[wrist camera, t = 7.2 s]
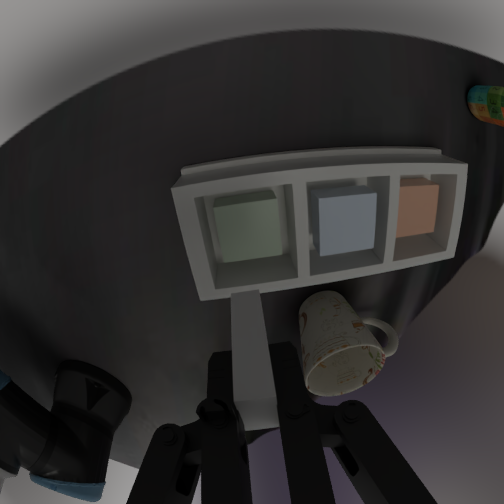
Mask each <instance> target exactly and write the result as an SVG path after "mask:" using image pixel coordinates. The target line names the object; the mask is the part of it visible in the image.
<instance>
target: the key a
mask: <svg viewBox="0 0 504 504" xmlns="http://www.w3.org/2000/svg"><path fill="white" fill-rule="evenodd" d="M213 210H214V216H215V221H216V226H217V231H218V236H219V241H220V246H221V251H222V256H223V260H224V263H228V262H235V261H242V260H249V259H256V258H263V257H270V256H277V255H282V245H281V234H280V224H279V213H278V203H277V198H276V196H275V194H274V191H273V190H272V191H264V192H257V193H250V194H243V195H236V196H229V197H223V198H217V199H215V201H214V206H213Z"/></svg>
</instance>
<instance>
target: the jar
mask: <svg viewBox="0 0 504 504" xmlns="http://www.w3.org/2000/svg"><path fill="white" fill-rule="evenodd" d="M467 102H468V106H469V109H470V111H471V112H472V114H473V115H474V116H475V117H476V118H478V119H479V120H481V121H485V122H489V123H493V124H497V125H500V126H504V87H498V86H482V85H477V86H474V87H472V88H471V89H470V90H469V92H468V95H467Z"/></svg>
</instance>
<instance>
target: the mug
mask: <svg viewBox="0 0 504 504" xmlns="http://www.w3.org/2000/svg"><path fill="white" fill-rule="evenodd" d="M365 324H371V325H374V326H377V327H379V328H380V329H382V330H383V331H384V332H385V333H386V334H387V335H388V338H389V342H388V345H387V346H386V347H384V348H382V347H381V345H380V344H379V343H378V341H377V340H376V339H375V337H374V336H373V335H372V333H371V332H370V331H369V329H368V328H367V327H366V325H365ZM299 325H300V335H301V346H302V358H303V370H304V380H305V385H306V387H307V389H308V390H309V391H310V392H312V393H314V394H316V395H320V396H336V395H342V394H345V393H349V392H351V391H354V390H356V389H358V388H360V387H362V386H363V385H365V384H367V383H368V382H369V381H371V380H372V379H373V378H374V377H375V376H376V375H377V374H378V373H379V372H380V370H381V369H382V367H383V365H384V362H385V357H388V356H391V355H392V354H394V353H395V351H396V350H397V347H398V336H397V334H396V332H395V330H394V329H393V328H392V327H391V326H390V325H388V324H387V323H385V322H383V321H381V320H378V319H375V318H371V317H361V318H359V316H358V315H357V314H356V312H355V311H354V310H353V309H352V307H351V306H350V305H349V303H348V302H347V301H346V300H345V298H344V297H343V296H342V295H341V294H339V293H338V292H335V291H321V292H317V293H315V294H313V295H311V296H310V297H308V298H307V299H306V300H305V301H304V302H303V304H302V305H301V307H300V310H299Z"/></svg>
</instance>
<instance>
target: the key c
mask: <svg viewBox="0 0 504 504" xmlns="http://www.w3.org/2000/svg"><path fill="white" fill-rule="evenodd" d="M438 193H439V184H437V183H435V182H432V181H430V180H428V179H426V178H414V179H400V191H399V207H398V220H397V230H396V238H398V237H405V236H411V235H417V234H424V233H430V232H434V226H435V219H436V211H437V203H438Z"/></svg>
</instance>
